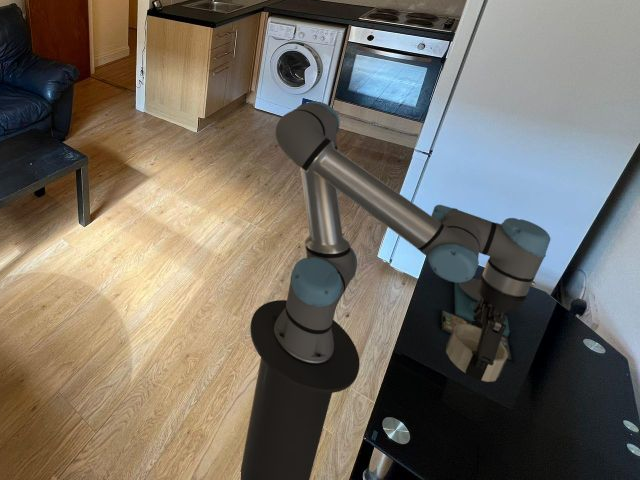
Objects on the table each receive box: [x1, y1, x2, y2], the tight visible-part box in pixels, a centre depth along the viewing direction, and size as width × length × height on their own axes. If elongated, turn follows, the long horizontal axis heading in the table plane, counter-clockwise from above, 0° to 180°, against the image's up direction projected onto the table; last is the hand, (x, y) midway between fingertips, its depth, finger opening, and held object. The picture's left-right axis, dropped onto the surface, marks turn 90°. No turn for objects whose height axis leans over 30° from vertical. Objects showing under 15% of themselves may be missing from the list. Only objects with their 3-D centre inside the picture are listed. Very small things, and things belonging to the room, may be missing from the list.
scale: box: [453, 282, 510, 338], centre depth 125 cm, size 18×12×4 cm, turn 142°
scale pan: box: [458, 277, 481, 301], centre depth 126 cm, size 12×12×1 cm
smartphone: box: [441, 309, 512, 361], centre depth 115 cm, size 8×15×1 cm, turn 54°
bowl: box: [445, 324, 508, 383], centre depth 95 cm, size 10×10×7 cm
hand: (472, 359), depth 96 cm, fingers closed on bowl, 10 cm apart
